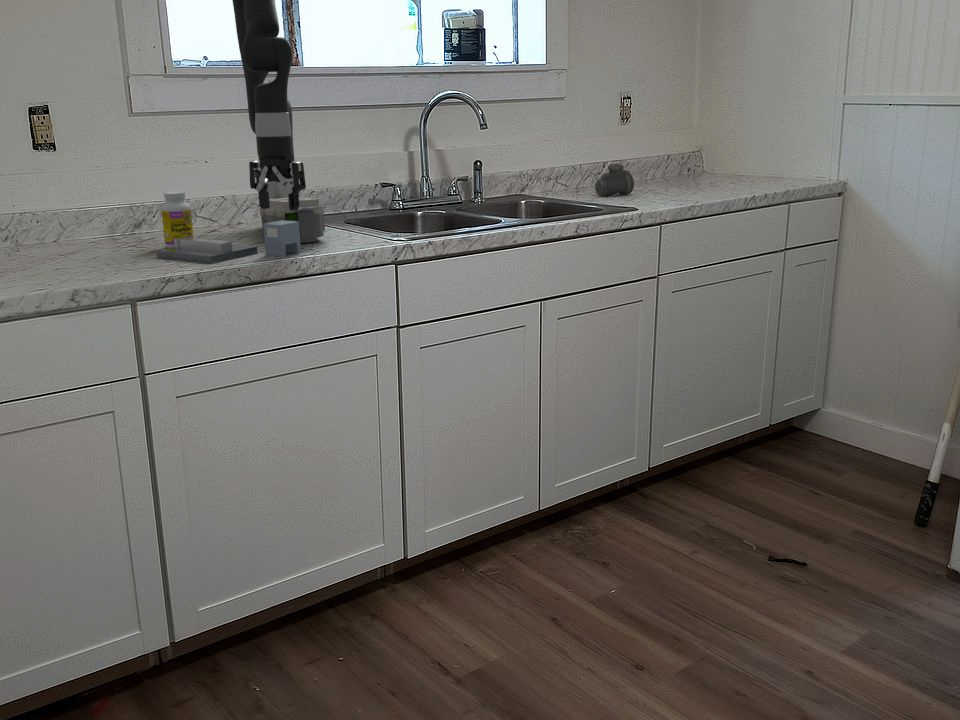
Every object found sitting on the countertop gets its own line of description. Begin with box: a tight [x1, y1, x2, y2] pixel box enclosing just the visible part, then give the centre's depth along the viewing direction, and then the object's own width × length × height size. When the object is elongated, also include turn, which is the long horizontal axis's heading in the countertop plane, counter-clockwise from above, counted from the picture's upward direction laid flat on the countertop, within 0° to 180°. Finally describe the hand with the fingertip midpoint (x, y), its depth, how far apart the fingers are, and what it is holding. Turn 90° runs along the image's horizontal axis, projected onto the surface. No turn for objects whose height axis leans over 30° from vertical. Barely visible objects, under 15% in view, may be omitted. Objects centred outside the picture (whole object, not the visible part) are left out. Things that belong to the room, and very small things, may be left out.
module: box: [263, 220, 302, 257], centre depth 206 cm, size 6×5×7 cm
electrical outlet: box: [258, 196, 327, 244], centre depth 227 cm, size 12×28×10 cm, turn 29°
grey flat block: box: [155, 237, 258, 264], centre depth 207 cm, size 14×17×4 cm
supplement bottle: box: [160, 191, 195, 249], centre depth 217 cm, size 7×7×13 cm
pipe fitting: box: [594, 163, 635, 198], centre depth 301 cm, size 12×8×10 cm
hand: (279, 209), depth 204 cm, fingers open, 8 cm apart
